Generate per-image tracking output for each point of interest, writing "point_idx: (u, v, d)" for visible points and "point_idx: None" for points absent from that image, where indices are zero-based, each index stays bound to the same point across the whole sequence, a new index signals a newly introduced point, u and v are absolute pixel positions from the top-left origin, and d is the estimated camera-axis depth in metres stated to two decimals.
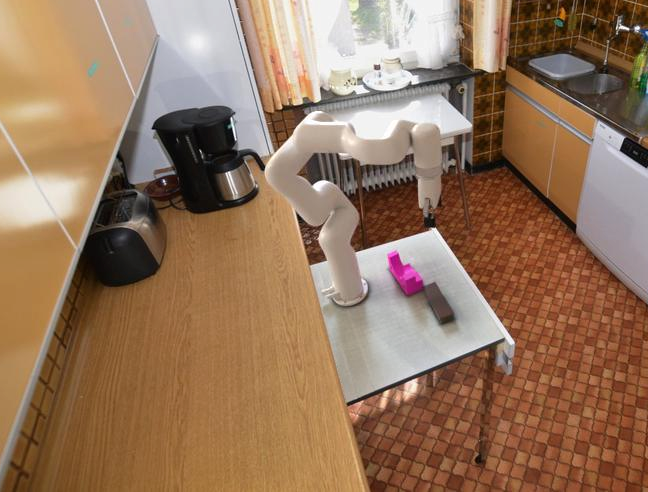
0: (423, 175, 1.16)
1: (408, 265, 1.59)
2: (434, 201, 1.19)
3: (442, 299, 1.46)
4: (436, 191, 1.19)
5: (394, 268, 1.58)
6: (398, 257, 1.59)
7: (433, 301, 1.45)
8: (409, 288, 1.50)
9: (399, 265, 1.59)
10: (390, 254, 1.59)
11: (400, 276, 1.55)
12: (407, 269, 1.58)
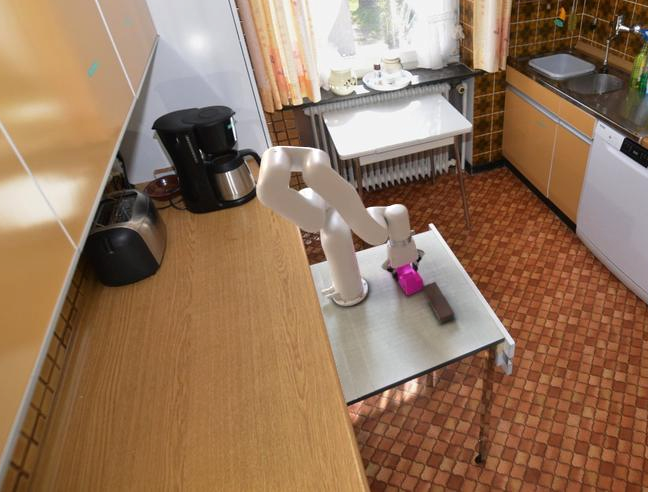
0: (389, 240, 1.48)
1: (408, 265, 1.59)
2: (391, 263, 1.49)
3: (442, 299, 1.46)
4: (395, 257, 1.48)
5: None
6: None
7: (433, 301, 1.45)
8: (409, 288, 1.50)
9: None
10: None
11: (400, 276, 1.55)
12: (407, 269, 1.58)
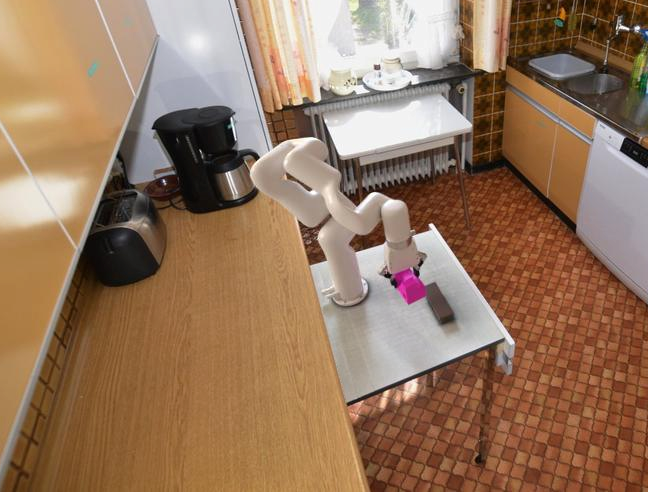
0: (386, 242, 1.28)
1: (408, 270, 1.40)
2: (389, 268, 1.30)
3: (442, 299, 1.46)
4: (393, 261, 1.29)
5: None
6: None
7: (433, 301, 1.45)
8: (410, 297, 1.31)
9: None
10: None
11: (399, 283, 1.36)
12: (407, 274, 1.38)
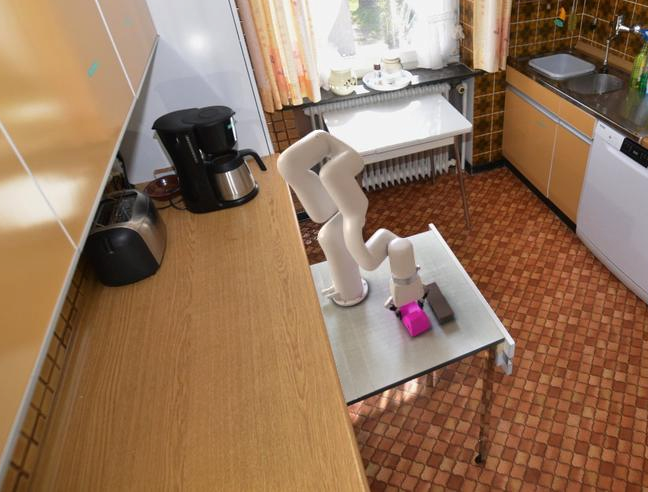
0: (392, 277, 1.34)
1: None
2: (394, 301, 1.35)
3: (442, 299, 1.46)
4: (399, 295, 1.34)
5: None
6: None
7: (433, 301, 1.45)
8: (414, 329, 1.36)
9: None
10: None
11: (404, 314, 1.41)
12: (411, 306, 1.44)
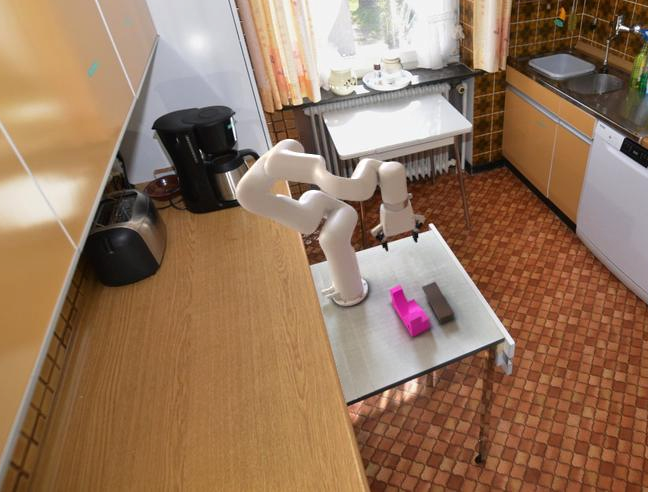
0: None
1: (413, 301, 1.45)
2: (384, 229, 1.31)
3: (442, 299, 1.46)
4: (389, 223, 1.30)
5: (397, 305, 1.44)
6: (402, 292, 1.45)
7: (433, 301, 1.45)
8: (414, 329, 1.36)
9: (403, 301, 1.45)
10: (393, 289, 1.45)
11: (404, 314, 1.41)
12: (411, 306, 1.44)
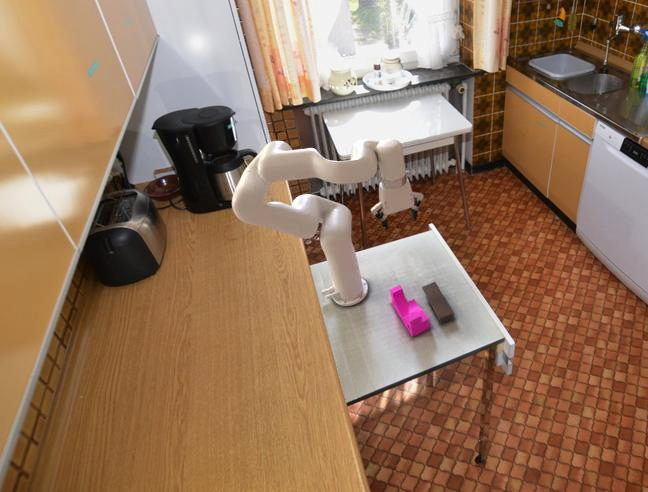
0: None
1: (413, 301, 1.45)
2: (384, 207, 1.33)
3: (442, 299, 1.46)
4: (388, 201, 1.32)
5: (397, 305, 1.44)
6: (402, 292, 1.45)
7: (433, 301, 1.45)
8: (414, 329, 1.36)
9: (403, 301, 1.45)
10: (393, 289, 1.45)
11: (404, 314, 1.41)
12: (411, 306, 1.44)
